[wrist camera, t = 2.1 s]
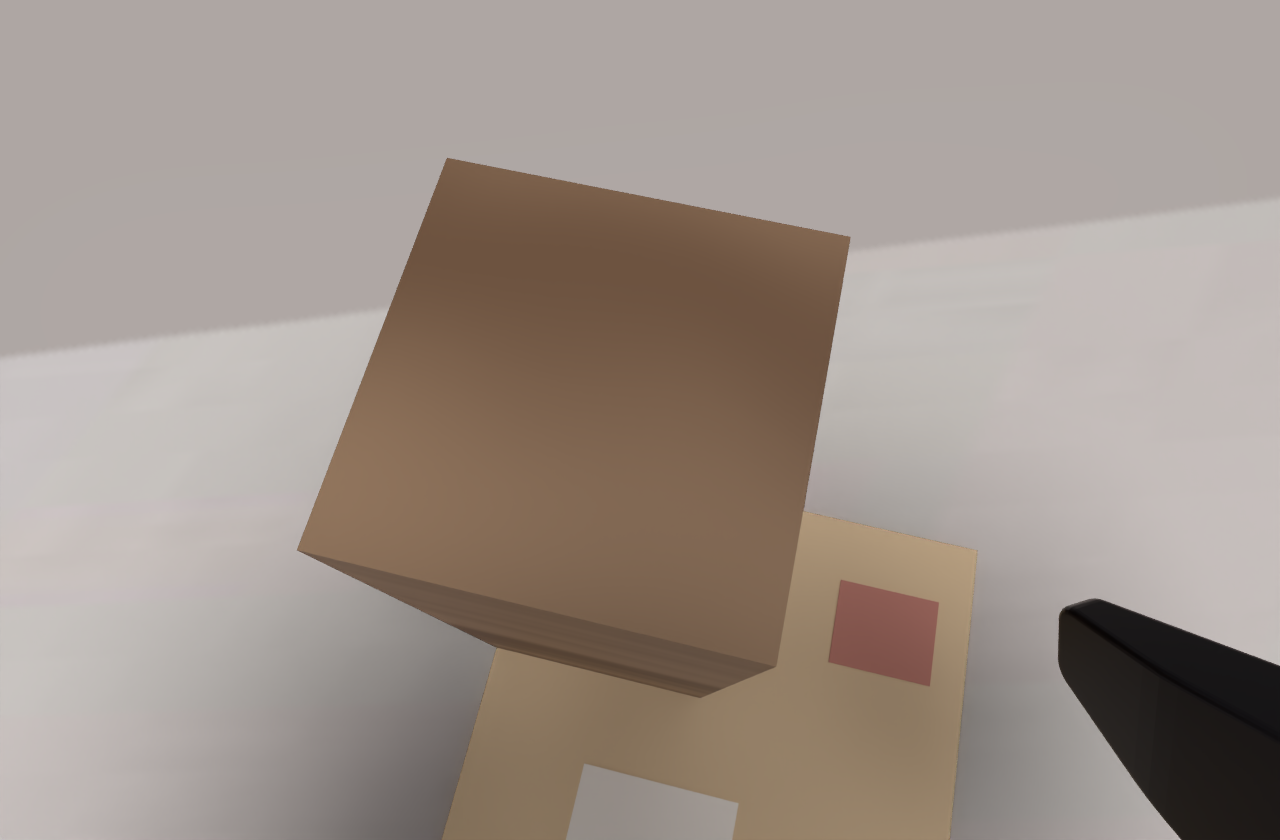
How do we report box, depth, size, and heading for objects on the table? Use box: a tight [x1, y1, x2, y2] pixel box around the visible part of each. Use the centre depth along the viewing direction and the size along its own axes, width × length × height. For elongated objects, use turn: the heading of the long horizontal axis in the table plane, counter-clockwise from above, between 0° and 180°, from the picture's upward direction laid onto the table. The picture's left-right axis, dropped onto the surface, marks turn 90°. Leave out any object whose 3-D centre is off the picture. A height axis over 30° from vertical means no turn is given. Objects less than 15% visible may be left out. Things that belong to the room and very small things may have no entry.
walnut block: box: [297, 158, 850, 698], centre depth 15 cm, size 5×5×12 cm
